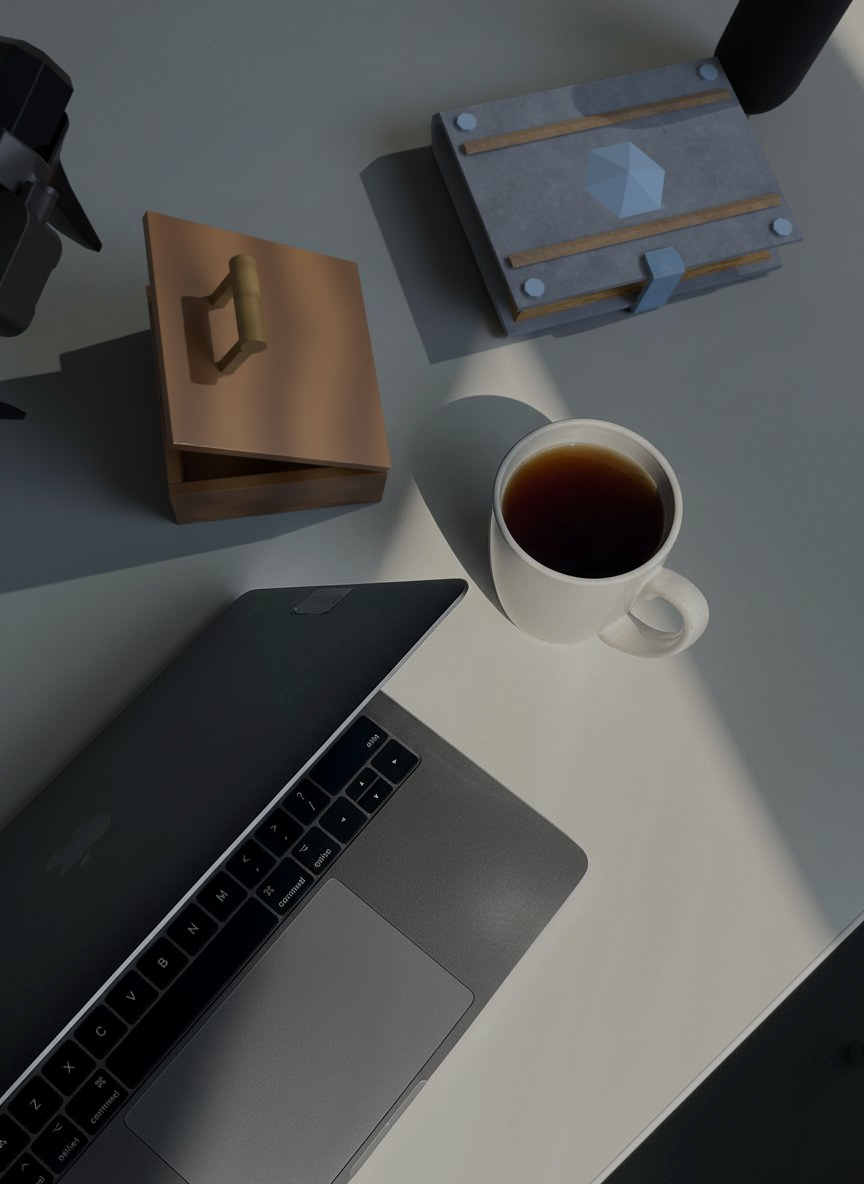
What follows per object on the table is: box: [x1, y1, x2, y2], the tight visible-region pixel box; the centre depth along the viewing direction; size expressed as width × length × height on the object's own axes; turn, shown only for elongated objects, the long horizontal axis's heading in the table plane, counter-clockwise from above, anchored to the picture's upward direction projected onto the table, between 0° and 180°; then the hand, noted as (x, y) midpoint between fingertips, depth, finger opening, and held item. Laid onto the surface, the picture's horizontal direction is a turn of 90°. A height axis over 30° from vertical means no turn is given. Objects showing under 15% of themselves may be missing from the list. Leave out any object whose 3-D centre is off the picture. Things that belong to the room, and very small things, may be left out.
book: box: [430, 56, 805, 339], centre depth 71 cm, size 21×16×5 cm
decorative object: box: [712, 0, 854, 116], centre depth 70 cm, size 7×7×15 cm
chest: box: [145, 284, 389, 525], centre depth 63 cm, size 13×14×5 cm
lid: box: [141, 210, 393, 472], centre depth 56 cm, size 13×14×5 cm
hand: (57, 330), depth 52 cm, fingers open, 9 cm apart
